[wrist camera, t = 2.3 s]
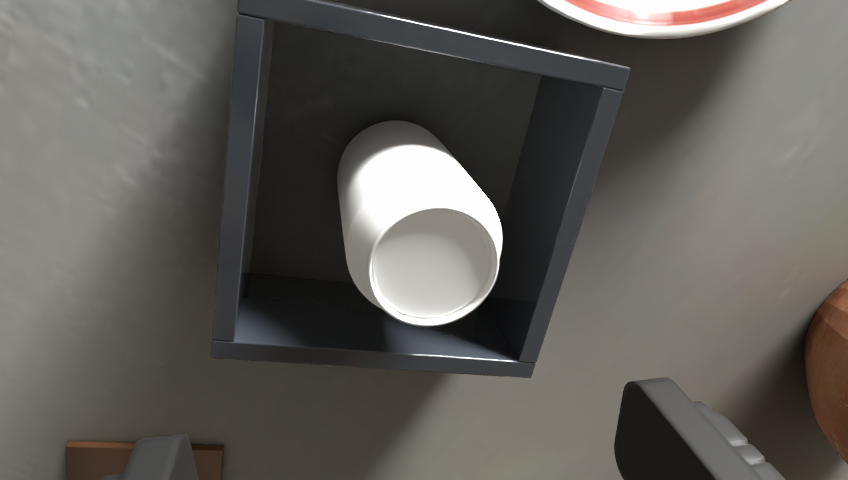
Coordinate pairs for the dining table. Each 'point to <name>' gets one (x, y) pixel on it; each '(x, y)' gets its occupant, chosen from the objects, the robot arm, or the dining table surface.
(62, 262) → the dining table surface
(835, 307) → the jug
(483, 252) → the beverage can
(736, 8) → the dinner plate
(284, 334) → the grey open box
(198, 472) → the coaster
